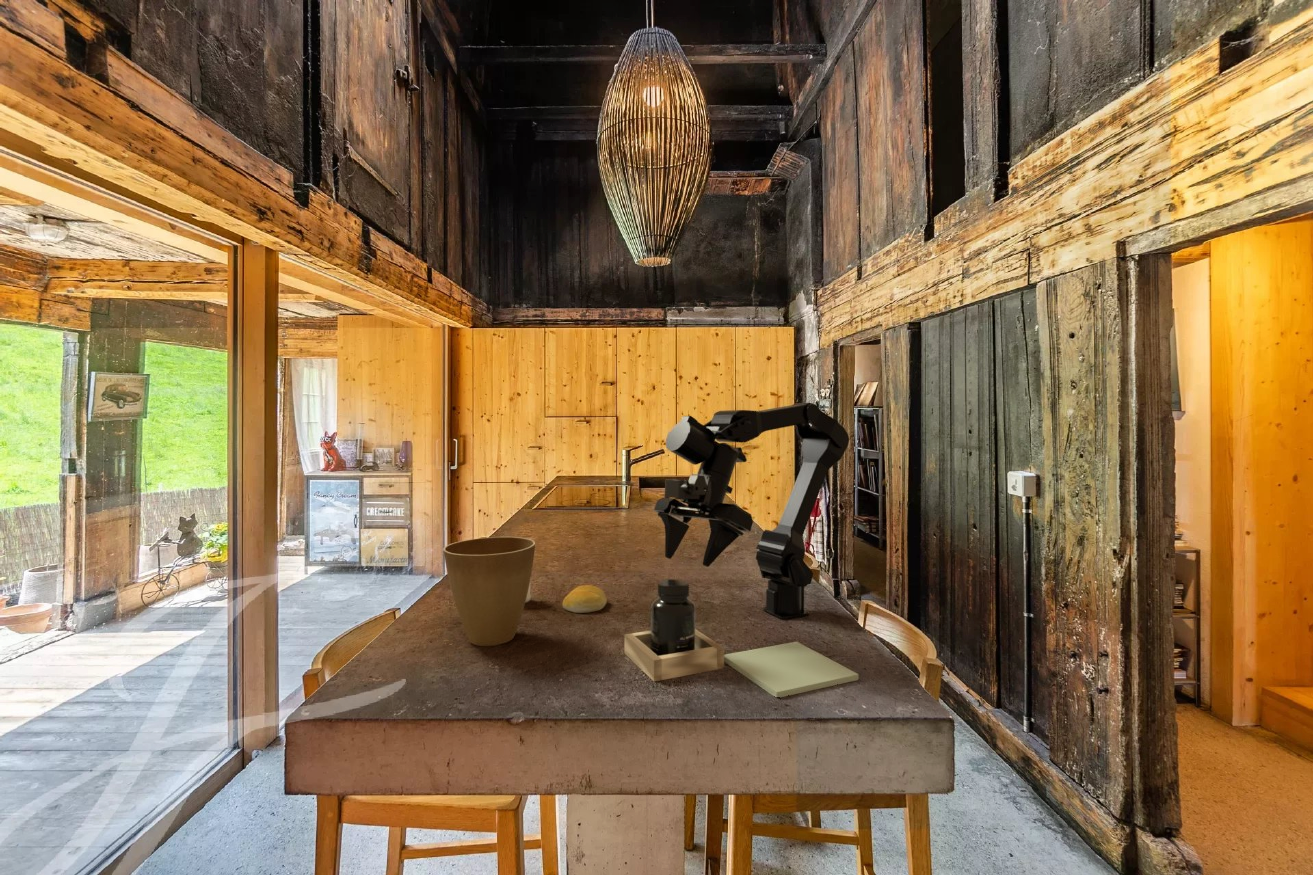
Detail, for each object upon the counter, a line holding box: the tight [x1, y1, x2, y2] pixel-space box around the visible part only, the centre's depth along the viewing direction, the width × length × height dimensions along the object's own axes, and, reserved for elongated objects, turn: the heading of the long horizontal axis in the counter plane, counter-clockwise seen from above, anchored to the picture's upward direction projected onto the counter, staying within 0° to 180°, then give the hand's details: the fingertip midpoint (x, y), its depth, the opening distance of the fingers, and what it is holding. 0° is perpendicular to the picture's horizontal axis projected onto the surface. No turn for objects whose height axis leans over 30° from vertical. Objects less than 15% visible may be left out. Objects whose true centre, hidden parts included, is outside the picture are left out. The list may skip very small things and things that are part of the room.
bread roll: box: [562, 584, 608, 614], centre depth 119 cm, size 8×9×4 cm
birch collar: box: [624, 628, 725, 682], centre depth 91 cm, size 11×11×3 cm
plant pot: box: [442, 536, 536, 647], centre depth 100 cm, size 15×15×16 cm
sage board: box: [724, 641, 859, 698], centre depth 88 cm, size 14×14×1 cm
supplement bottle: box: [650, 578, 696, 656], centre depth 91 cm, size 7×7×12 cm
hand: (685, 561), depth 99 cm, fingers open, 9 cm apart
